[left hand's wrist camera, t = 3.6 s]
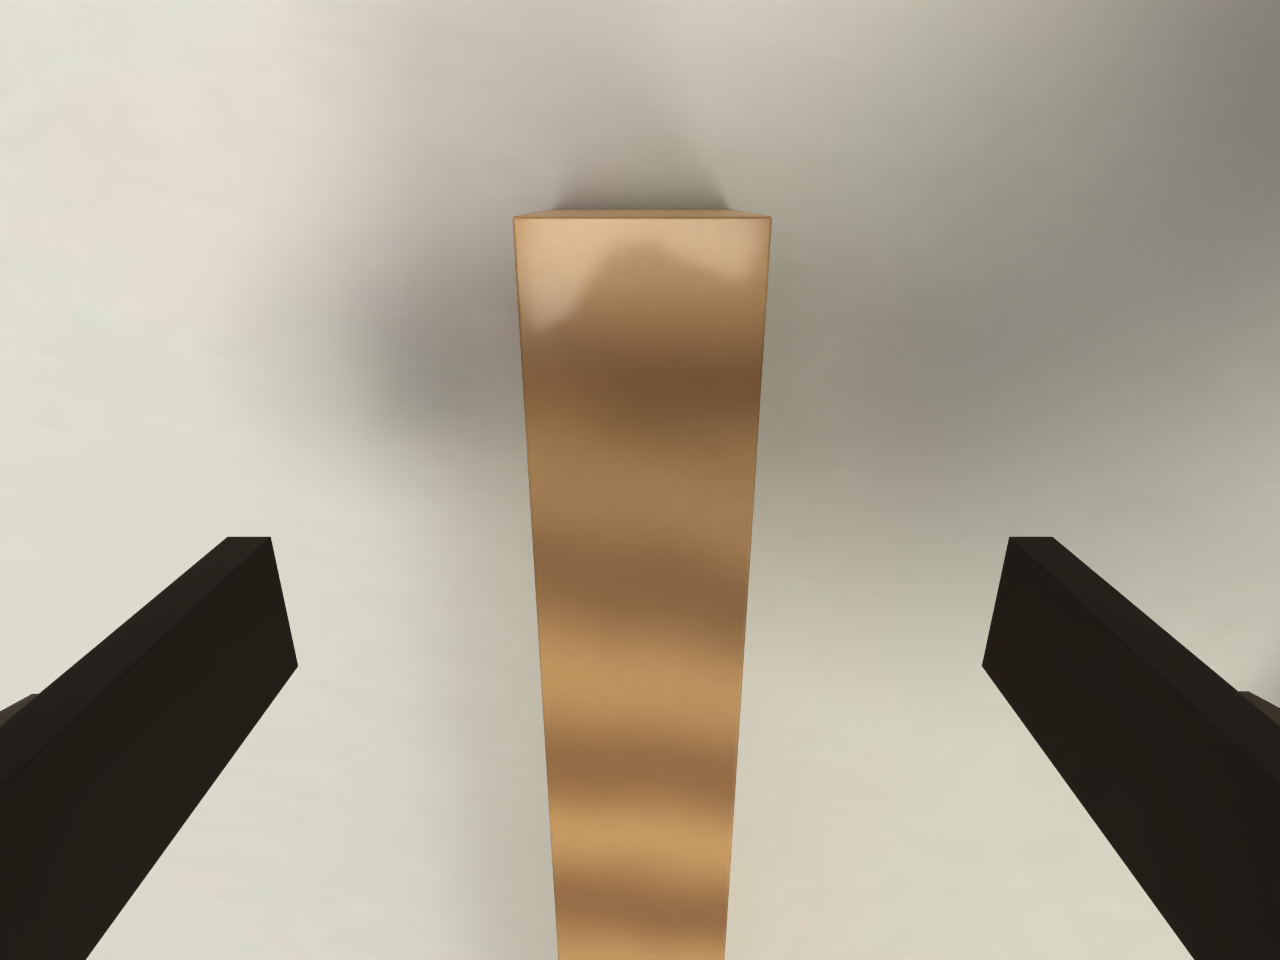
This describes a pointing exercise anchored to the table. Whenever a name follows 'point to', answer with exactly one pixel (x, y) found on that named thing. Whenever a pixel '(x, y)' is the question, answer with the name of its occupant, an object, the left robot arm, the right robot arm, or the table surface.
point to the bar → (641, 557)
